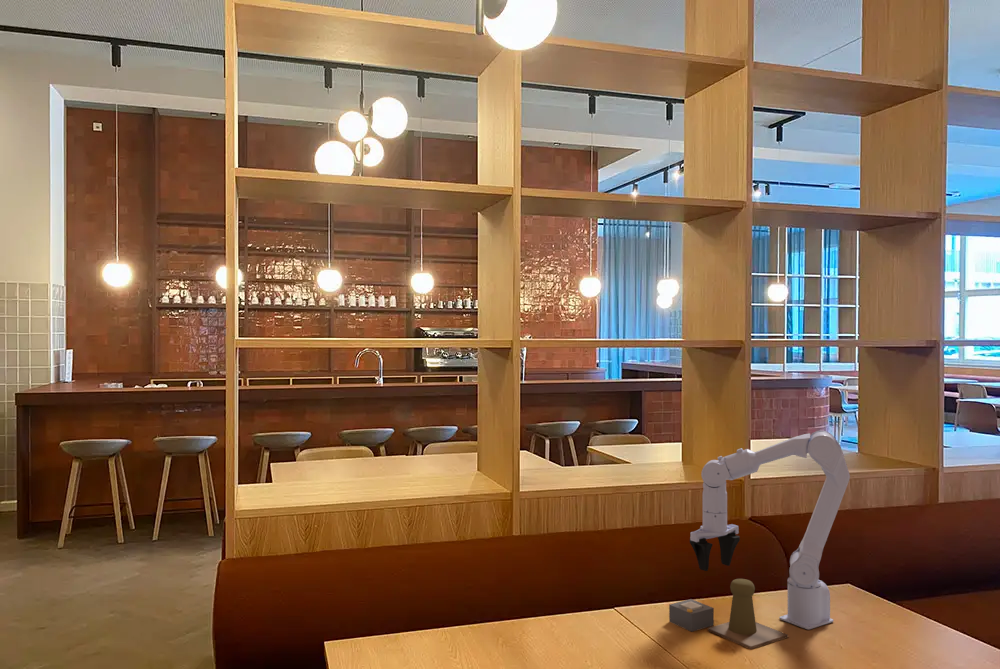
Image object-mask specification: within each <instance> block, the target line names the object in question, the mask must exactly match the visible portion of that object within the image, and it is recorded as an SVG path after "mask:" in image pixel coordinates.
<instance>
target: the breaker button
mask: <svg viewBox="0 0 1000 669" xmlns="http://www.w3.org/2000/svg"><path fill="white" fill-rule="evenodd" d="M681 606H682V607H684V608H687V609H692V610H695V609H699V608H702V606H701V605H699V604H696V603H694V602H687V603H683V604H681Z"/></svg>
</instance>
